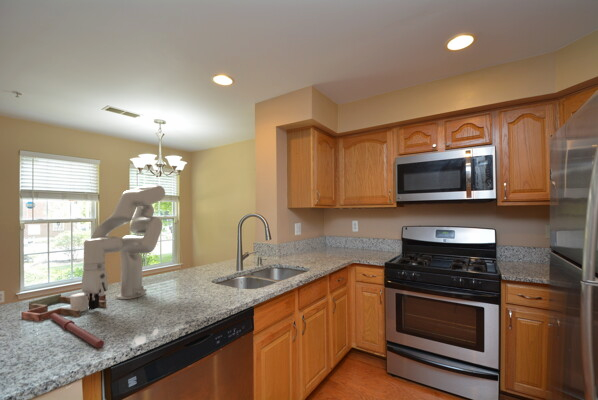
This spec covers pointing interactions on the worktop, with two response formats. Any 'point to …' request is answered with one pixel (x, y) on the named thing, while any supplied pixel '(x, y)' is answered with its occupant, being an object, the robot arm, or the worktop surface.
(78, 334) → the red collared rod
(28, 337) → the worktop surface
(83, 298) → the white cylinder
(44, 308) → the box
